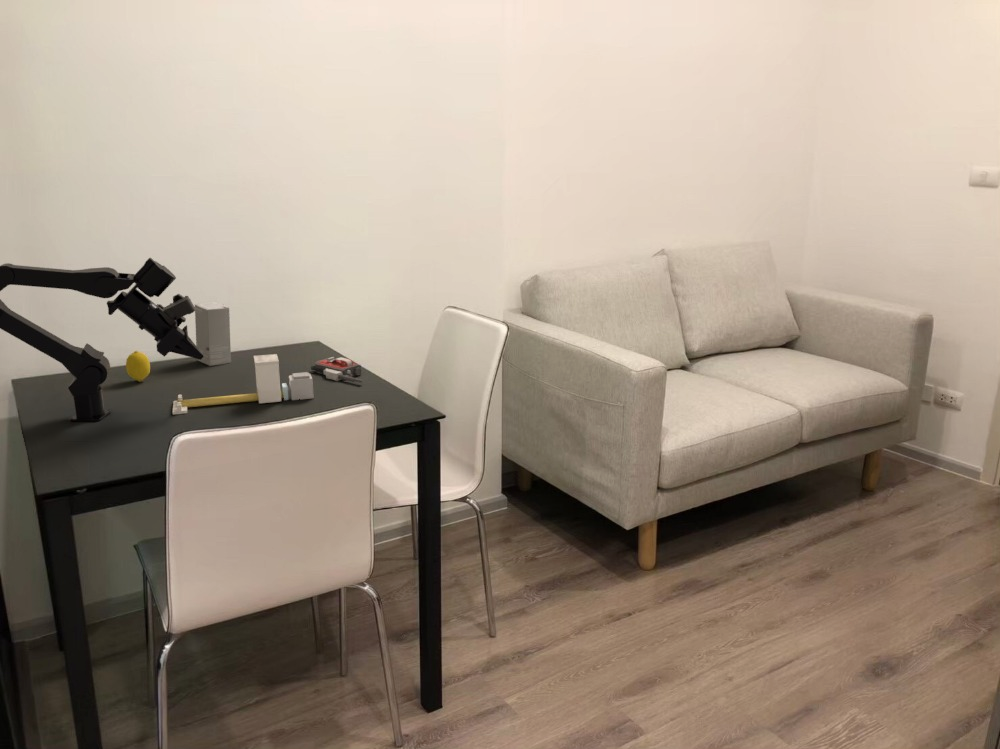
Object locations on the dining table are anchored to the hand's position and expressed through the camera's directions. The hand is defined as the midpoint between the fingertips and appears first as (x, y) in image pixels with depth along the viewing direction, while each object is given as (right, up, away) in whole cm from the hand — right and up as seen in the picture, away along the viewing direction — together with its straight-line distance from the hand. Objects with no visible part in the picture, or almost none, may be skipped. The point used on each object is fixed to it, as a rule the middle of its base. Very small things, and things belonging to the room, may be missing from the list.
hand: (202, 357), depth 188 cm
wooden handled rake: (+6, -10, +5) cm, 13 cm away
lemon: (-23, -6, +22) cm, 32 cm away
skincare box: (-11, 0, +40) cm, 41 cm away
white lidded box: (+13, -10, +7) cm, 18 cm away
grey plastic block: (+19, -9, +9) cm, 23 cm away
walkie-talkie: (+27, -5, +27) cm, 38 cm away
